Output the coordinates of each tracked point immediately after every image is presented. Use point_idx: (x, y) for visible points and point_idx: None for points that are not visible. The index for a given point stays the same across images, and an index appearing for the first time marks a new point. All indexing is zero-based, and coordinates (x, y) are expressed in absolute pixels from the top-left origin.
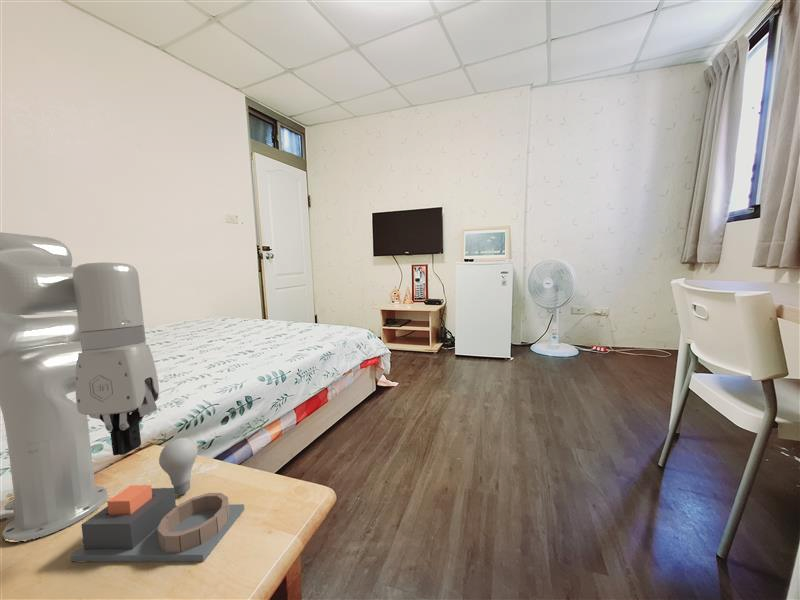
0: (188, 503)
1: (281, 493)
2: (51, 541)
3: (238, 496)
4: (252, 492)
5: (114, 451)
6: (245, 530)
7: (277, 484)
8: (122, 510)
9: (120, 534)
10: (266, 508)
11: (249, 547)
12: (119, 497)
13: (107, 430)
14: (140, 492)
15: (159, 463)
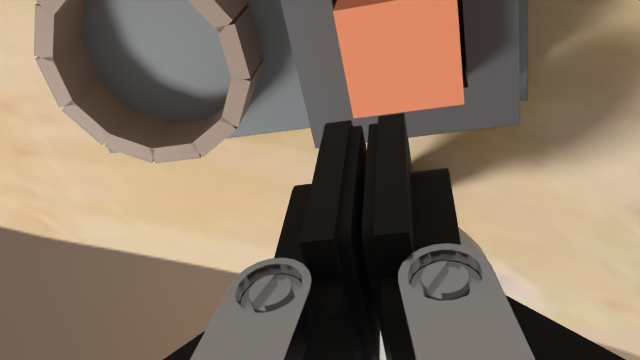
0: (226, 106)
1: (73, 211)
2: None
3: (196, 190)
4: (167, 208)
5: (388, 126)
6: (32, 74)
7: (122, 243)
8: None
9: None
10: (58, 155)
11: None
12: (421, 24)
13: (467, 247)
14: (347, 69)
15: (460, 238)
